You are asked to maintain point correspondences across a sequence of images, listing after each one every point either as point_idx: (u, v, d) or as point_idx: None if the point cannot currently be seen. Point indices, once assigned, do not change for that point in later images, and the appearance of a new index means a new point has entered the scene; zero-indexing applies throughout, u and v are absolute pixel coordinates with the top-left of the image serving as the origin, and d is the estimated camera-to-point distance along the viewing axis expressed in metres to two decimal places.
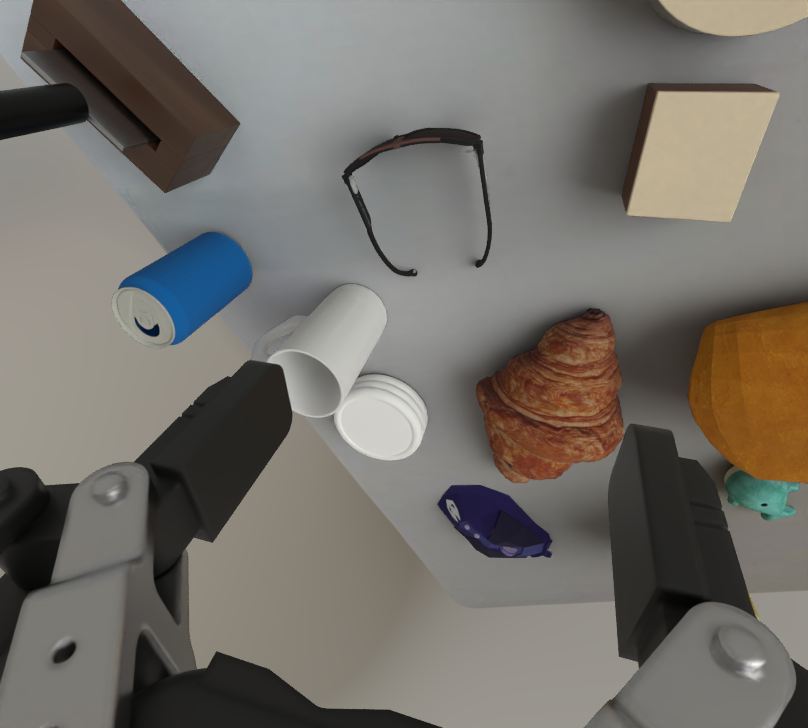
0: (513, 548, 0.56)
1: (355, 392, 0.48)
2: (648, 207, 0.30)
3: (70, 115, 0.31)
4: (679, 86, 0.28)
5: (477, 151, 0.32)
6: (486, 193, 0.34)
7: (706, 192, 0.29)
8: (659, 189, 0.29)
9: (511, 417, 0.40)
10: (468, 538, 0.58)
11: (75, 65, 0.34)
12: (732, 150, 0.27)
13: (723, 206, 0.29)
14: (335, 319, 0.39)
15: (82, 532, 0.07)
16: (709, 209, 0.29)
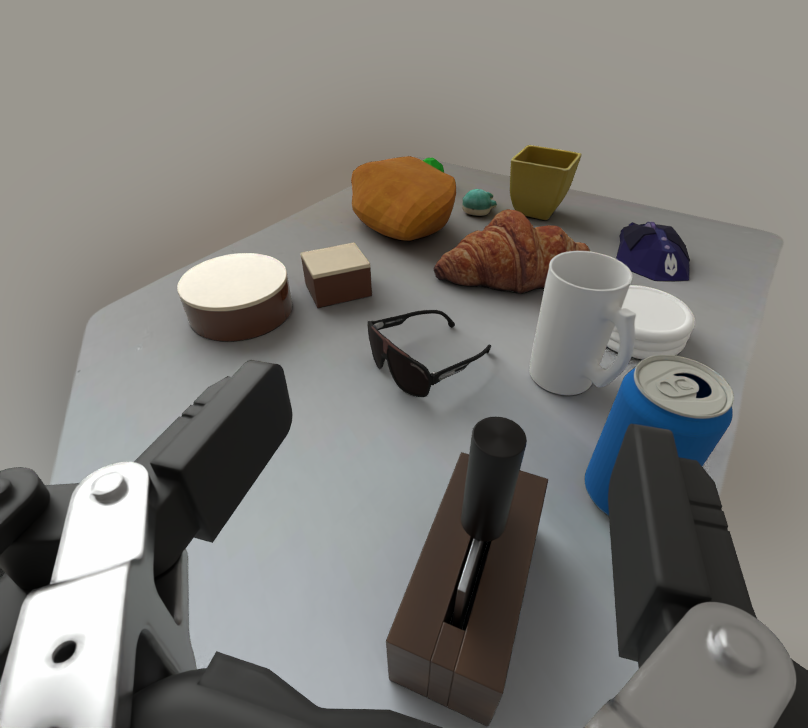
0: (646, 227, 0.67)
1: None
2: (362, 260, 0.57)
3: None
4: (312, 289, 0.57)
5: (373, 322, 0.49)
6: (396, 316, 0.51)
7: (346, 251, 0.59)
8: (352, 260, 0.57)
9: (519, 240, 0.56)
10: (678, 243, 0.63)
11: None
12: (326, 252, 0.58)
13: (349, 246, 0.60)
14: (541, 321, 0.43)
15: (81, 532, 0.07)
16: (352, 248, 0.59)
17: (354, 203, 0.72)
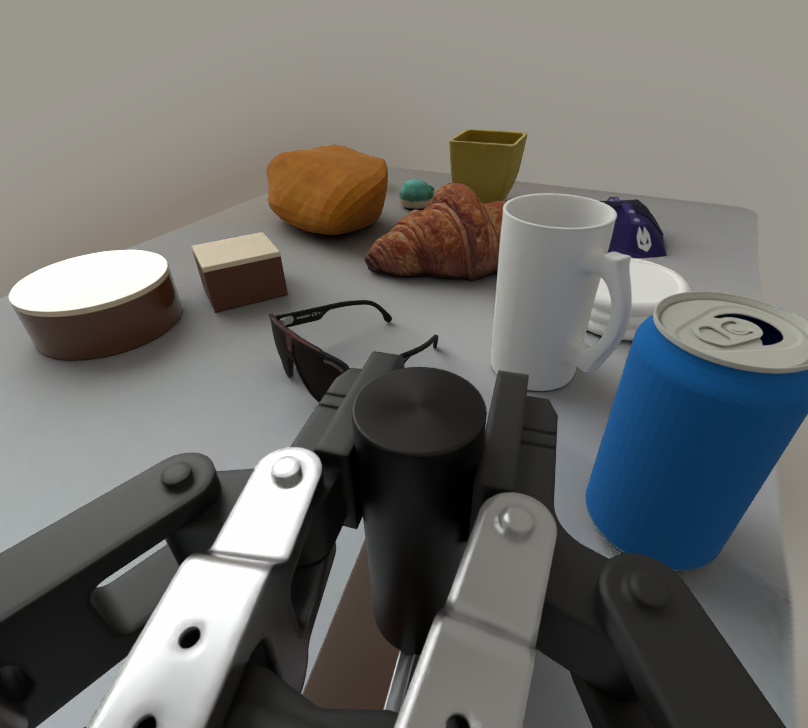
0: None
1: (608, 302, 0.37)
2: (270, 248, 0.45)
3: None
4: (207, 289, 0.44)
5: (278, 316, 0.36)
6: (311, 309, 0.38)
7: (250, 241, 0.46)
8: (257, 250, 0.45)
9: (464, 213, 0.46)
10: (647, 215, 0.55)
11: None
12: (224, 243, 0.46)
13: (255, 235, 0.48)
14: (500, 290, 0.32)
15: (250, 507, 0.08)
16: (259, 237, 0.47)
17: (269, 197, 0.60)
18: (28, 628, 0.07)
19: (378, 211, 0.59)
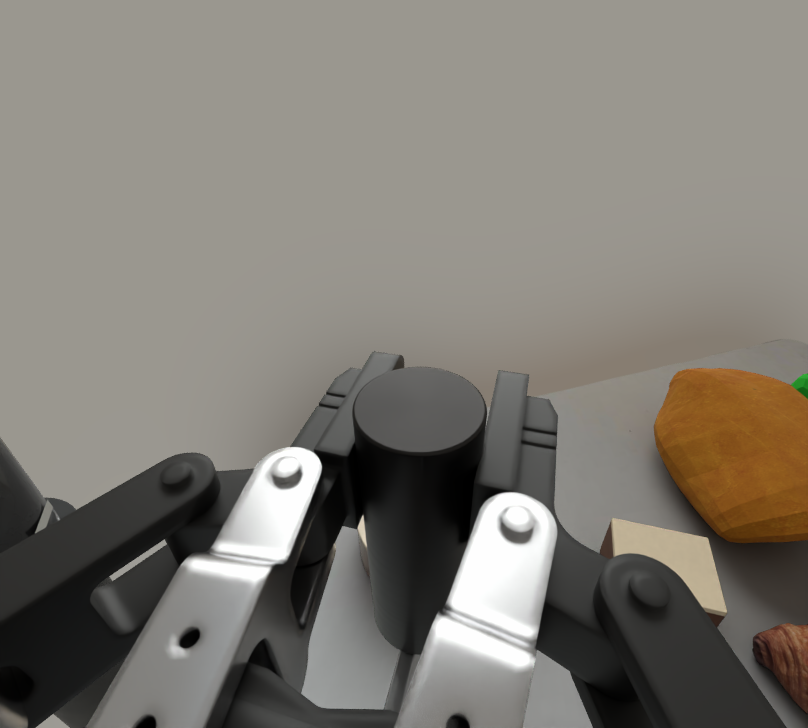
0: None
1: None
2: (713, 594, 0.33)
3: None
4: None
5: None
6: None
7: (688, 553, 0.36)
8: (694, 586, 0.34)
9: None
10: None
11: None
12: (653, 539, 0.37)
13: (696, 542, 0.36)
14: None
15: (251, 506, 0.08)
16: (701, 551, 0.36)
17: (659, 424, 0.48)
18: (27, 629, 0.07)
19: None
